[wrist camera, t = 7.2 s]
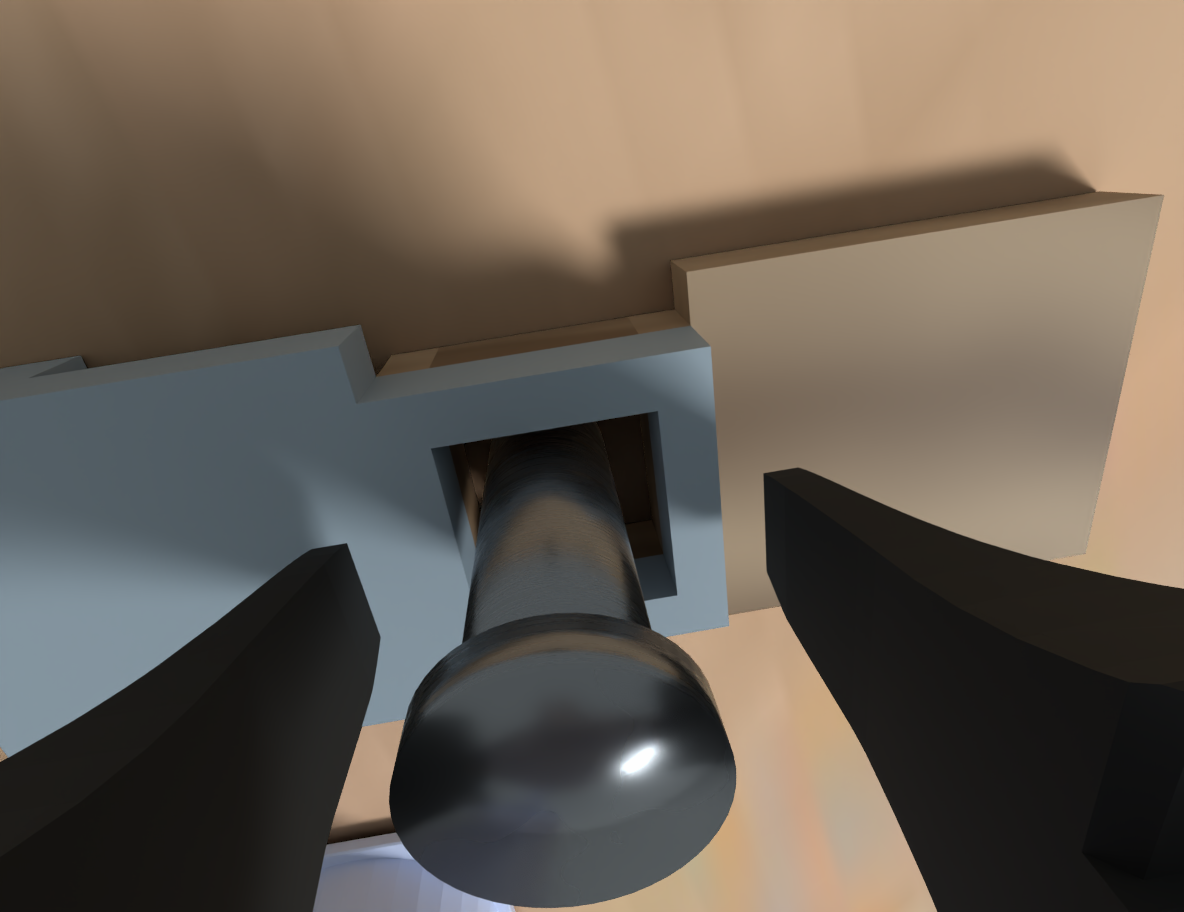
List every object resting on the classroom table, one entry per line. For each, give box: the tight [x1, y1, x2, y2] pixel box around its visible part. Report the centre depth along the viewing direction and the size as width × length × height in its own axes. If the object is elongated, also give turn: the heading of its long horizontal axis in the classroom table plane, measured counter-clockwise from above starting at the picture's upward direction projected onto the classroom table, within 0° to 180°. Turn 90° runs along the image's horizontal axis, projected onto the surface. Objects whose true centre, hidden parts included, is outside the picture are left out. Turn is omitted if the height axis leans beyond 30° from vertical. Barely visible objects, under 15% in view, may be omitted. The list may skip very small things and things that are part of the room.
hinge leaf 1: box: [0, 325, 729, 757], centre depth 13 cm, size 8×15×3 cm, turn 98°
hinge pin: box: [389, 421, 736, 908], centre depth 11 cm, size 4×4×9 cm
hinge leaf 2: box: [376, 192, 1164, 615], centre depth 14 cm, size 8×15×2 cm, turn 98°
